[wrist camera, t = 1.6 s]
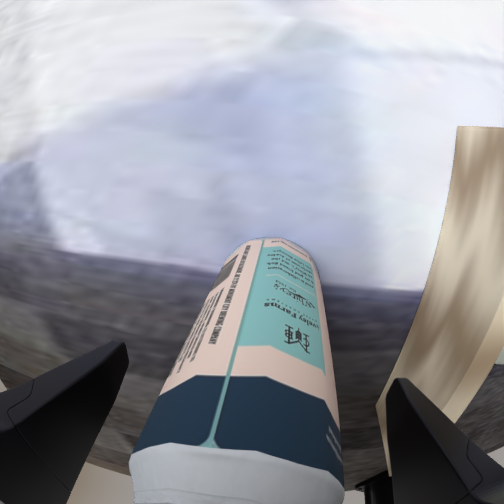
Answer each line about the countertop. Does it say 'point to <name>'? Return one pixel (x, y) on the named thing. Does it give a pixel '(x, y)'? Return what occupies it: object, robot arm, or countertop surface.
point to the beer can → (249, 393)
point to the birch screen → (460, 285)
